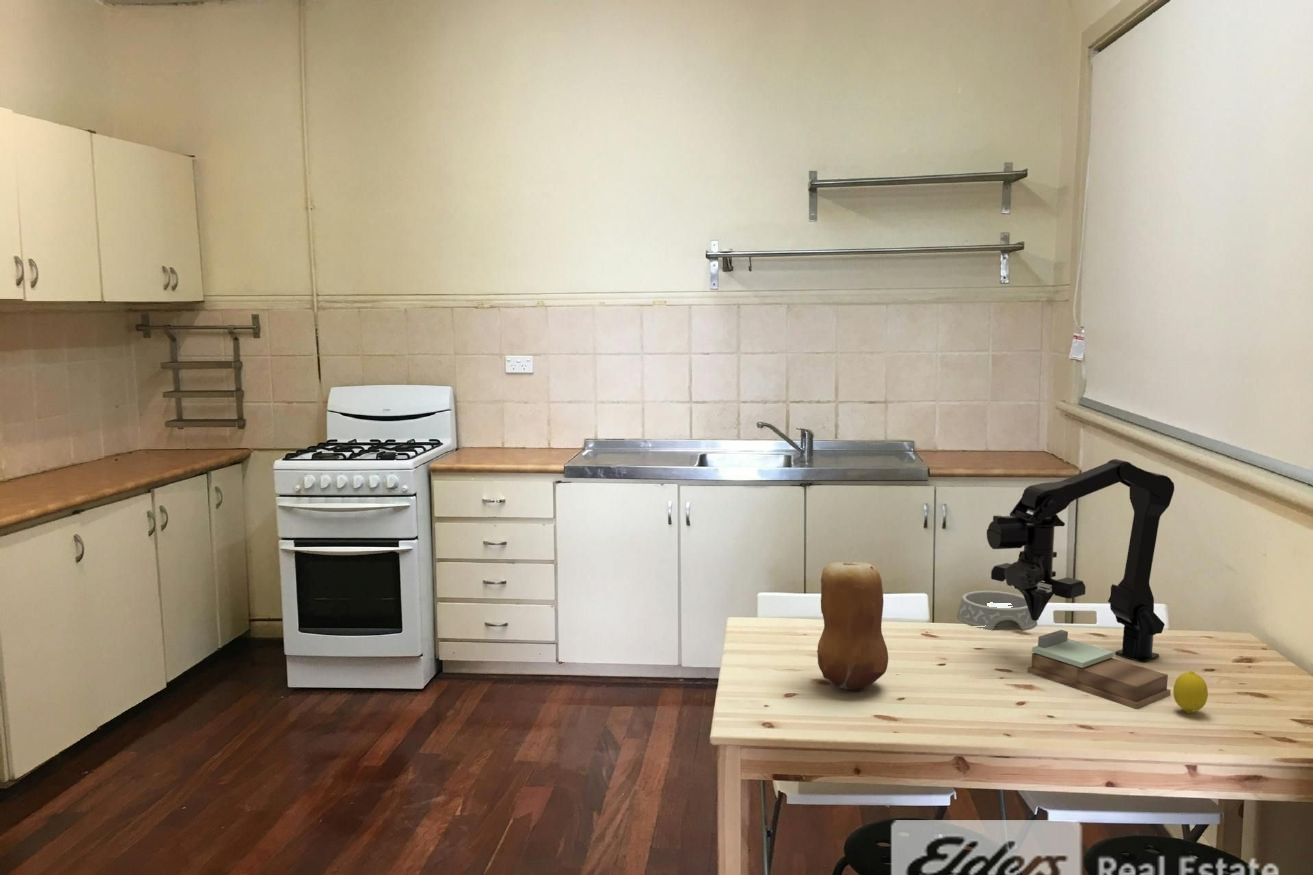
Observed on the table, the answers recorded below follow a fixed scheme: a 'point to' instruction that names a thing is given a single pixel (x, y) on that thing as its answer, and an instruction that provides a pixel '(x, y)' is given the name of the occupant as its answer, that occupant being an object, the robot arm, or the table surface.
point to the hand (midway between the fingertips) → (1034, 620)
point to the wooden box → (1106, 679)
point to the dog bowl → (994, 610)
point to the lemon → (1190, 691)
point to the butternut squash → (852, 625)
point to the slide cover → (1070, 650)
